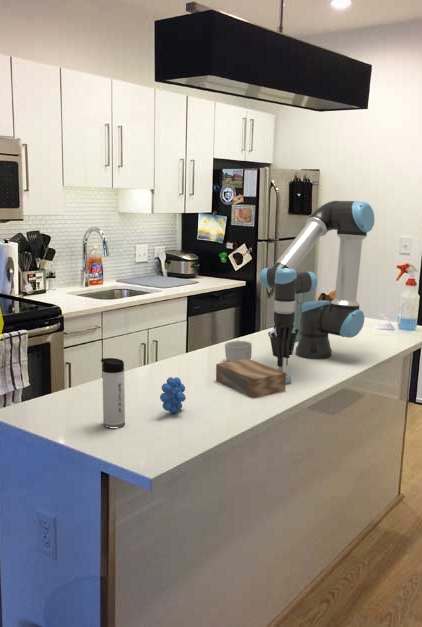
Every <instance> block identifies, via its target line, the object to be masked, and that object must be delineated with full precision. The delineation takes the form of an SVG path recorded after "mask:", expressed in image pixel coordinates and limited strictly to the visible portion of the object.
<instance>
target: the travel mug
mask: <svg viewBox="0 0 422 627" xmlns="http://www.w3.org/2000/svg"><path fill="white" fill-rule="evenodd" d="M100 363H102V408H103V410H102V412H103V413H102V414H103V415H102V416H103V418H102V419H103V420H102V421H103V426H104V425H105V426H108V427H120V428H122V427H124V426H125V425H126V411H125V409H126V406H125V405H126V402H125V401H126V400H125V399H126V398H125V397H126V396H125V362H124V360H122V359H119V358H113V357H105V358H104V357H103V358H101V360H100ZM123 425H124V426H123ZM105 426H104V427H105ZM121 426H122V427H121Z"/></svg>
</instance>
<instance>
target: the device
mask: <svg viewBox="0 0 422 627" xmlns="http://www.w3.org/2000/svg"><path fill="white" fill-rule="evenodd" d="M315 294H316V288H315V289H314V290H312V291H309V292H304V293H298V294H295V311H294V313H295V320H294V323H293V325H294V328H295V329H298V330H299V332H298V333H297V335H296V340H295V343H296V342H299V339H300V336H301V311H302V305H303V303H305V302H308V301H315V297H316V296H315Z"/></svg>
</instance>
